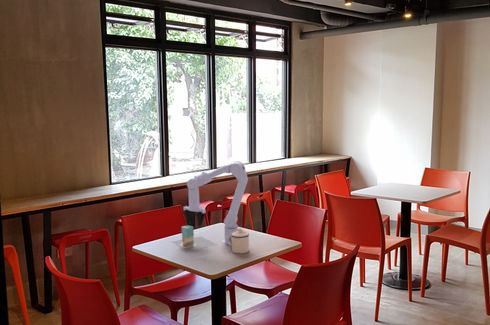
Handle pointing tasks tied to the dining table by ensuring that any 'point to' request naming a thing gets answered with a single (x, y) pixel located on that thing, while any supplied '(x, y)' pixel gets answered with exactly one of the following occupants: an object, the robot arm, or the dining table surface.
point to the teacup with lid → (239, 241)
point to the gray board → (195, 244)
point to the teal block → (187, 231)
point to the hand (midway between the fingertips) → (195, 224)
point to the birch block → (187, 241)
